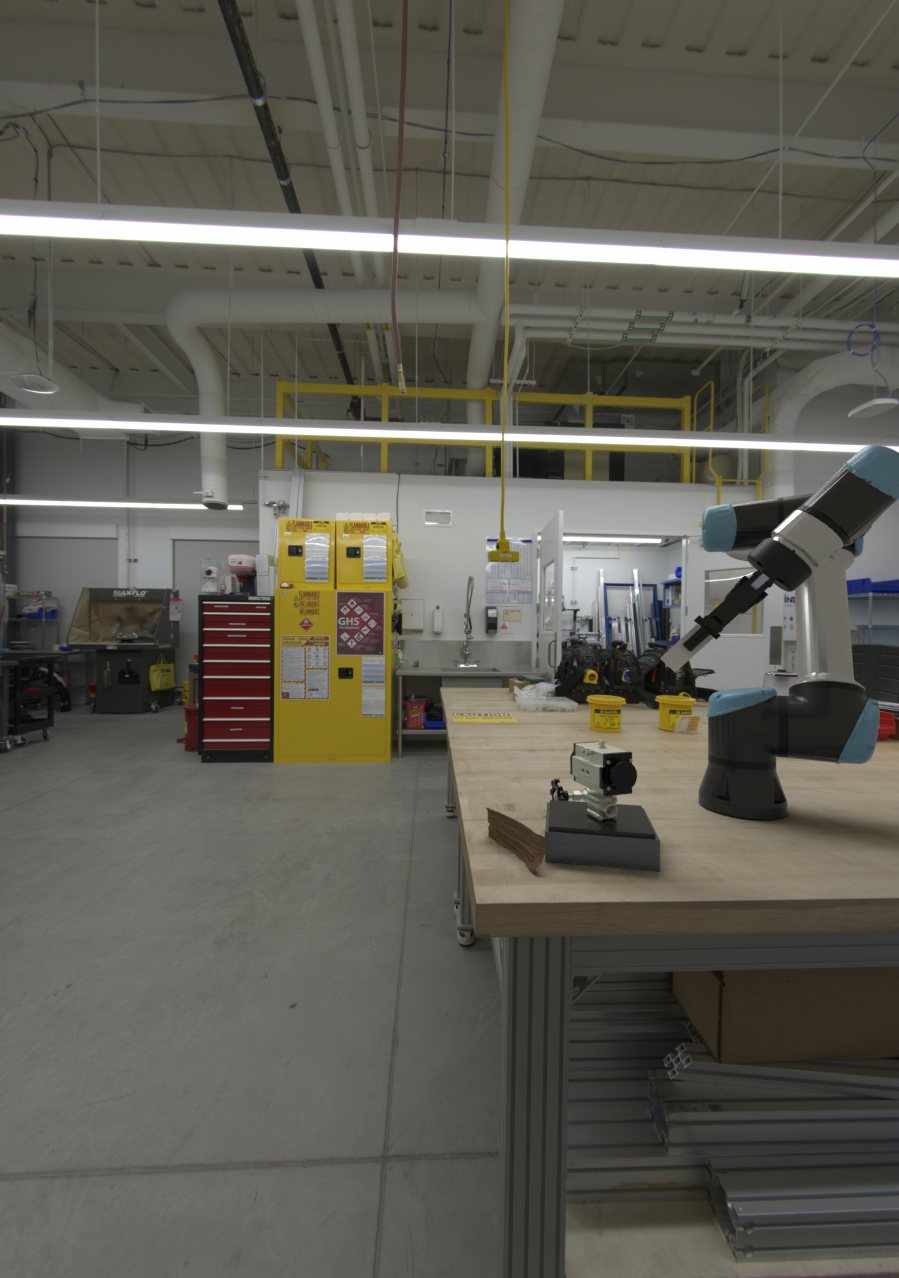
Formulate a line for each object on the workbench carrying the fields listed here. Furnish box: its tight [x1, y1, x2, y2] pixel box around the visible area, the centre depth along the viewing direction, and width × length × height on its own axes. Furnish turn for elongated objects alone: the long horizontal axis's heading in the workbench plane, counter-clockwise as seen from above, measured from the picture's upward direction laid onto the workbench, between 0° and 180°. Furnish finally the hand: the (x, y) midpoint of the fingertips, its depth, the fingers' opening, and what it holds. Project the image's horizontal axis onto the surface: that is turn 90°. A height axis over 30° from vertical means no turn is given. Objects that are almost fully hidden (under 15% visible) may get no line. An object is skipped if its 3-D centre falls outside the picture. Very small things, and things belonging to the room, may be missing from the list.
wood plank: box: [485, 806, 546, 875], centre depth 78 cm, size 15×2×5 cm, turn 26°
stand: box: [544, 799, 661, 872], centre depth 81 cm, size 16×14×5 cm
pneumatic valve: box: [569, 739, 638, 821], centre depth 80 cm, size 6×12×12 cm, turn 17°
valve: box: [549, 778, 618, 802], centre depth 97 cm, size 7×7×12 cm
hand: (670, 662), depth 76 cm, fingers open, 13 cm apart
